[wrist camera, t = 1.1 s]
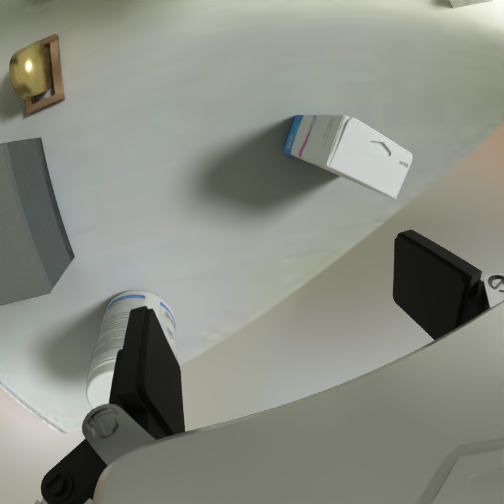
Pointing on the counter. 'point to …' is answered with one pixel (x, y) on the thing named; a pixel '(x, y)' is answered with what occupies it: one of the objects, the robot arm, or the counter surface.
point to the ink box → (349, 151)
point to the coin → (31, 71)
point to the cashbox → (29, 224)
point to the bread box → (466, 2)
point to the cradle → (57, 78)
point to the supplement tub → (121, 339)
